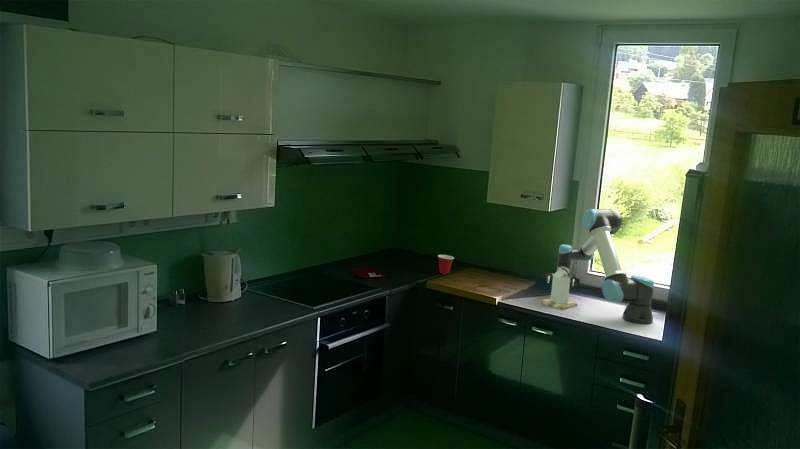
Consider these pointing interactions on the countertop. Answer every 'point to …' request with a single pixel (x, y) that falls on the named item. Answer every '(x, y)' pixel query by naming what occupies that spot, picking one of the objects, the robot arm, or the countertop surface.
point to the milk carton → (560, 287)
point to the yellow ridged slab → (559, 306)
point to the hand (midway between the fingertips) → (560, 282)
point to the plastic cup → (445, 263)
